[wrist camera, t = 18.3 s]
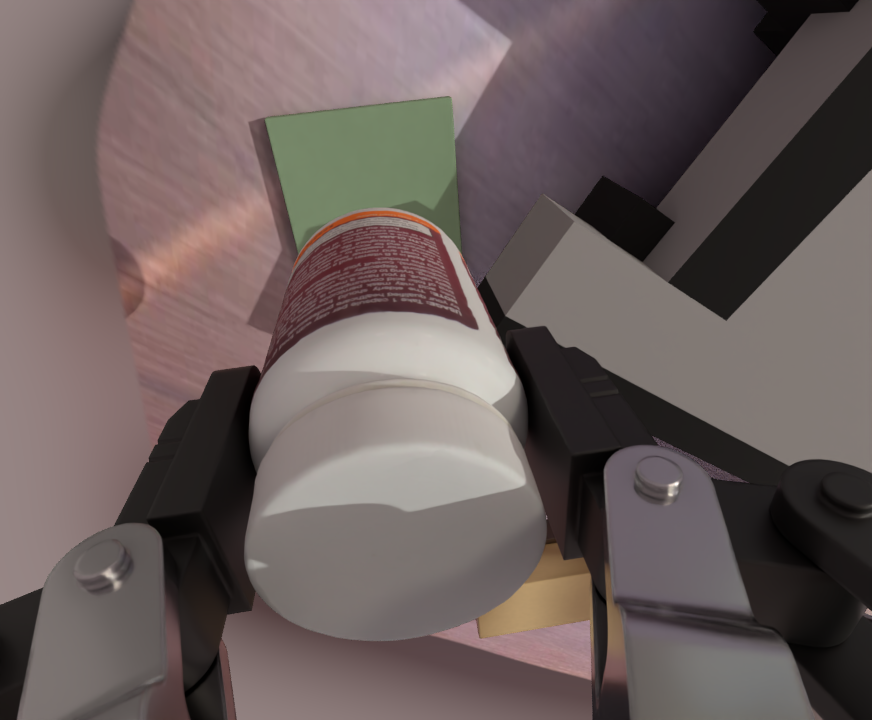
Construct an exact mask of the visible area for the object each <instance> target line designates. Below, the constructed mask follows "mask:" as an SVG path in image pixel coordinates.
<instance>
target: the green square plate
mask: <svg viewBox="0 0 872 720" xmlns="http://www.w3.org/2000/svg"><path fill="white" fill-rule="evenodd" d="M265 124H266V128H267V132H268V136H269V140H270V144H271V148H272V152H273V156H274V160H275V164H276V168H277V172H278V176H279V180H280V184H281V188H282V192H283V196H284V200H285V204H286V208H287V212H288V216H289V220H290V224H291V228H292V231H293V235H294V239H295V243H296V247H297V251H298V255H299V253H300V251H301V249H302V248H303V247H304V245H305V244H306V242H307V241H308V240H309V239H310V238H311V237H312V236H313V234H314V233H315V232H317V231H318V230H319V229H320V228H321V227H323V226H324V225H326V224H327V223H328V222H330V221H332V220H334V219H335V218H337V217H339V216H342V215H344V214H347V213H350V212H352V211H356V210H360V209H366V208H393V209H399V210H403V211H407V212H410V213H413V214H416V215H418V216H421V217H423V218H424V219H426V220H428V221H430V222H432V223H433V224H434V225H436V226H437V227H439V228H440V229H441V230H442V231H443V232H444V233H445V234H446V235H447V236H448V237H449V238H450V239H451V240H452V241H453V243H454V244H455V245H456V247H457V248H458V250H459V251H460V253H461V255H462V246H461V231H460V216H459V201H458V186H457V170H456V155H455V140H454V125H453V110H452V98H451V97H450V96H446V97H437V98H428V99H420V100H411V101H402V102H394V103H385V104H376V105H367V106H359V107H350V108H341V109H333V110H324V111H315V112H307V113H298V114H289V115H280V116H272V117H267V118H265Z"/></svg>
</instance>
